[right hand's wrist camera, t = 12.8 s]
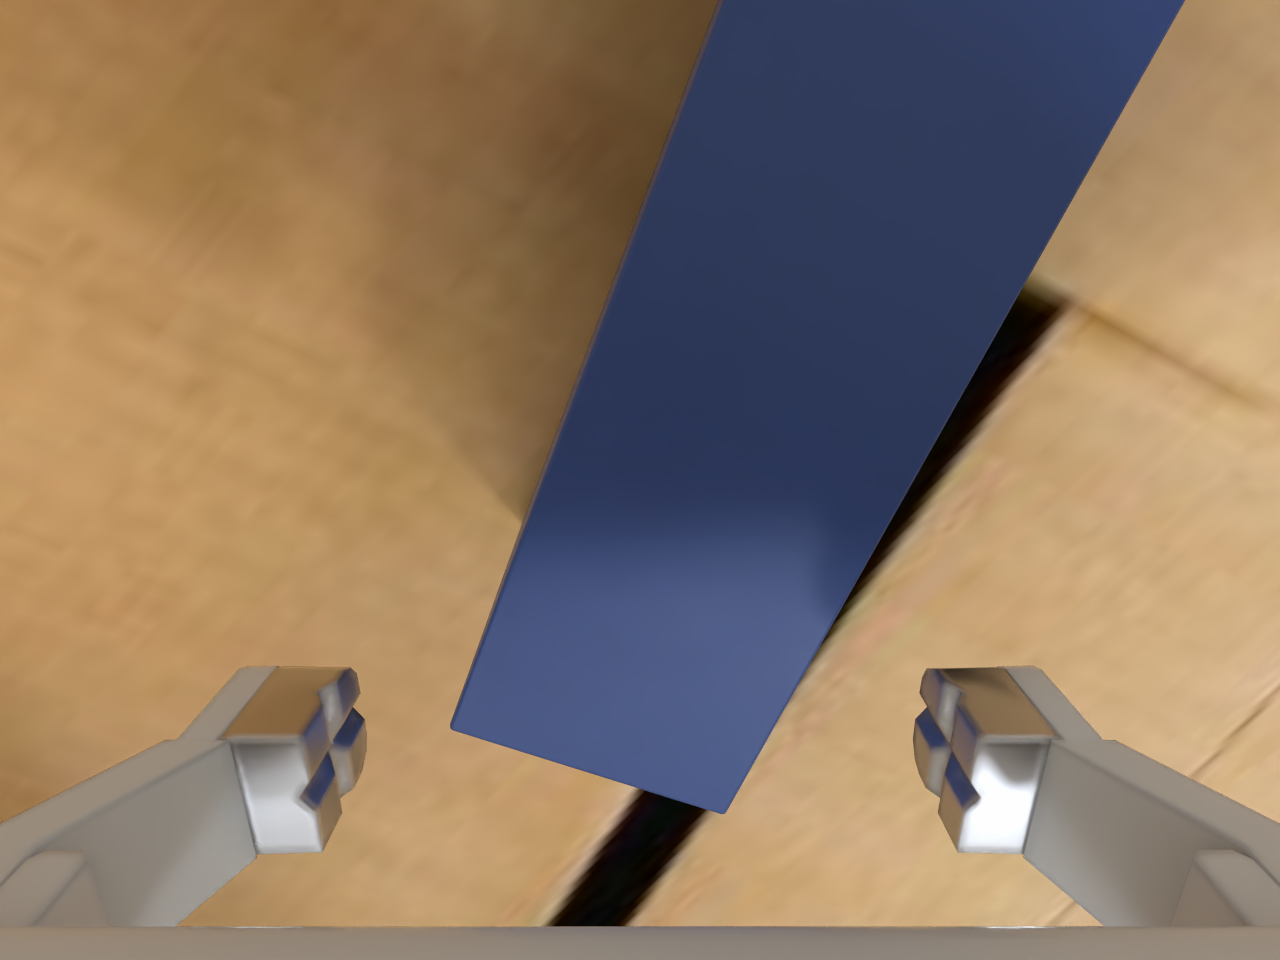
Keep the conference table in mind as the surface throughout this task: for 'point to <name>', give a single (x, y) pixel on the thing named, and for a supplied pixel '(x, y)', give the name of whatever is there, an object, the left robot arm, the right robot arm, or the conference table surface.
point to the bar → (784, 361)
